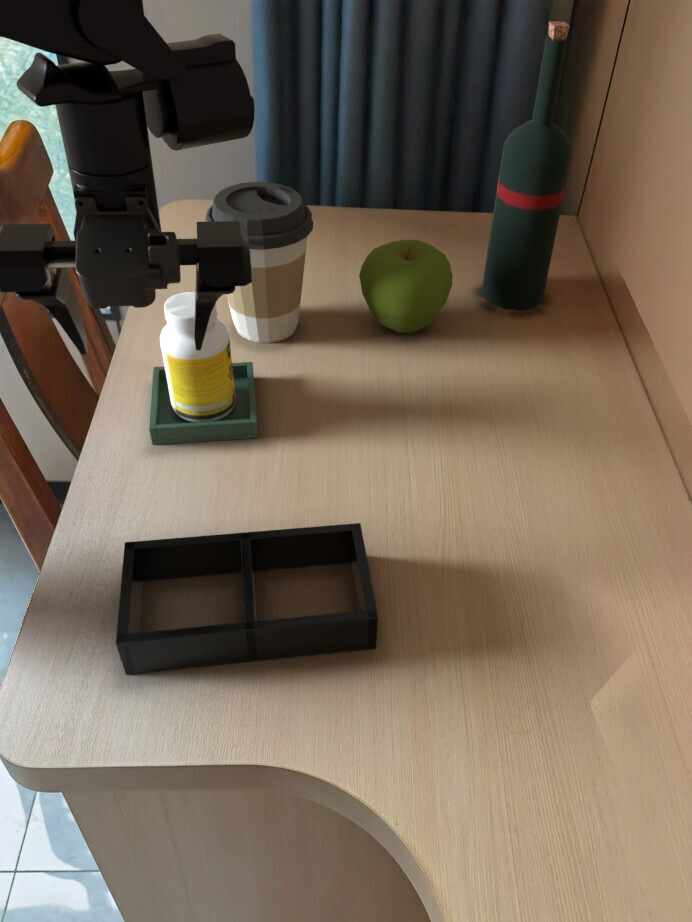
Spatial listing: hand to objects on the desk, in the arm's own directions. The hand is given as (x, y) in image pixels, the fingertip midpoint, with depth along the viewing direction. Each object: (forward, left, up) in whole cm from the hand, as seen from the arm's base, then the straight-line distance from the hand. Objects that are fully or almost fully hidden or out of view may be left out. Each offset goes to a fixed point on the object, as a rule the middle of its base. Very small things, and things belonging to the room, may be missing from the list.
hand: (142, 350), depth 67 cm
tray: (+4, +8, -13) cm, 15 cm away
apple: (+27, +22, -13) cm, 37 cm away
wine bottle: (+42, +29, -13) cm, 52 cm away
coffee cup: (+11, +23, -13) cm, 28 cm away
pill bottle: (+4, +8, -12) cm, 15 cm away
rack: (+7, -19, -13) cm, 24 cm away
